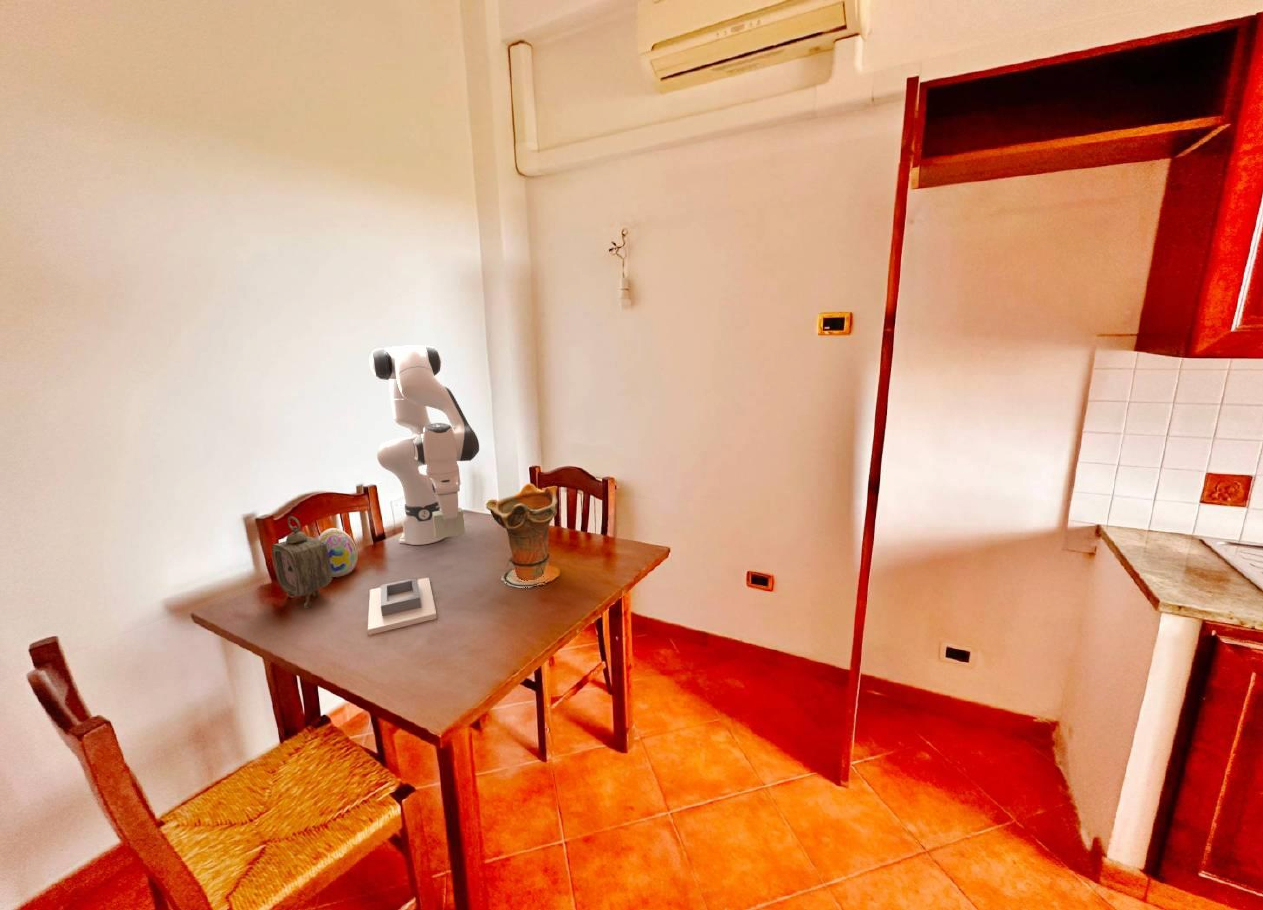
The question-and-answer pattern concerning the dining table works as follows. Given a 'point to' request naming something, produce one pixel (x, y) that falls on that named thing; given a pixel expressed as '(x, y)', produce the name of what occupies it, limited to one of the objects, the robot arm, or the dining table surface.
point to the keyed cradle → (400, 605)
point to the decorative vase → (526, 530)
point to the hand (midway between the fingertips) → (449, 525)
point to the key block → (441, 527)
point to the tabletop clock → (301, 564)
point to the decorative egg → (339, 551)
